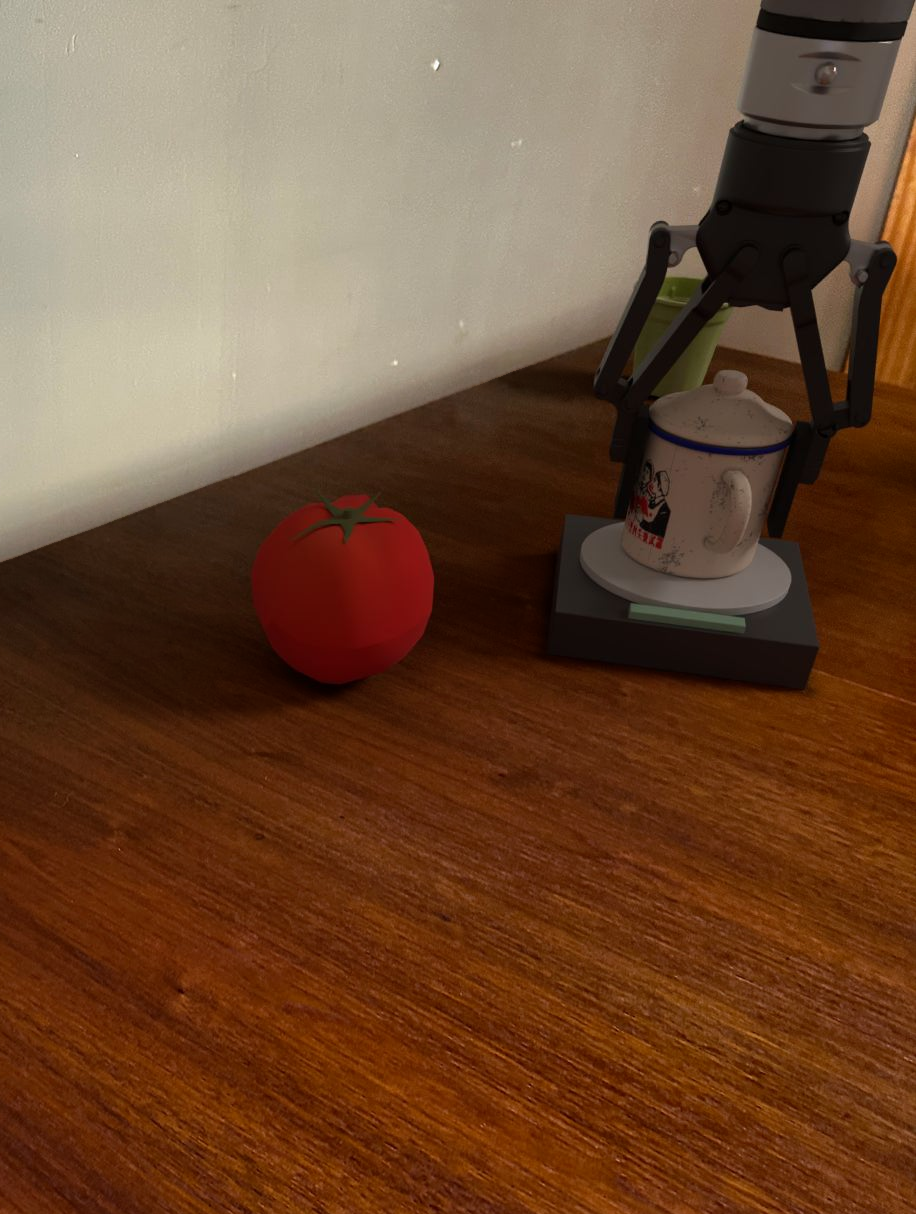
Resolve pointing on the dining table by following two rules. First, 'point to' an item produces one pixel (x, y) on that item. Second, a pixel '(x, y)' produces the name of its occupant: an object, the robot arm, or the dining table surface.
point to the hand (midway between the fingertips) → (696, 520)
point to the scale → (681, 611)
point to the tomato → (343, 588)
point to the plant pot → (700, 350)
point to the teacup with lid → (705, 479)
